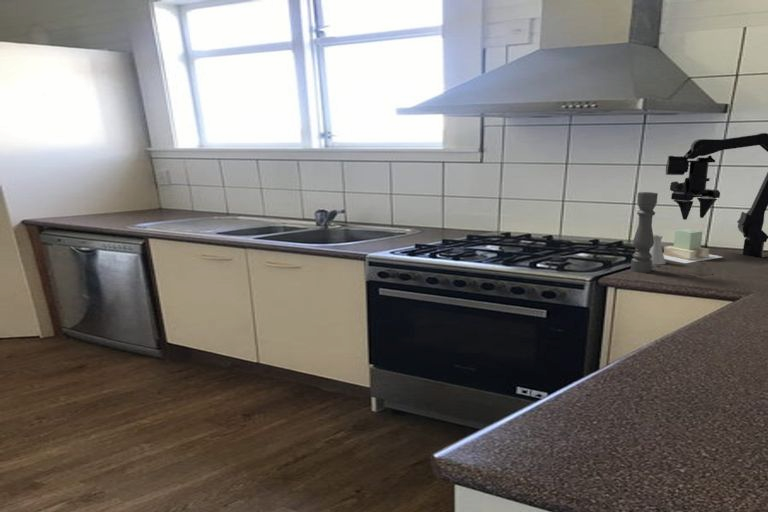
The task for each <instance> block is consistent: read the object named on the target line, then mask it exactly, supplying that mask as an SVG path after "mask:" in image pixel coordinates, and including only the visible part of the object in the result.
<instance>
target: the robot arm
mask: <svg viewBox="0 0 768 512" xmlns="http://www.w3.org/2000/svg"><path fill="white" fill-rule="evenodd" d="M754 146H755V147H756V146H760V148H762V149H763V150H765V151H766V152H767V153H768V133H767V132H760V133H756V134H752V135H751V134H750V135H743V136H737V137H729V138H723V139H722V138H721V139H718V138H717V139H715V138H714V139H709V138H705V139H704V138H698V139H696V140H694V141H693V142H692V143H691V145H690V149H689V150H688V151H687V152H686V153H685V155H683V156H680V155H678V156H675V155H668V156H667V161H666V164H665V175H667V176H684V175H685V173H688V177H685V179H684V182H678V181H671V183H670V186H669V187H670V188H669V191H671V192H672V193H671V197H670V199H671V200H673V202H675V203H676V204H677V205H678V207H679V209H680V213H681V217H682V220H685V221H686V220H687V219H688V218H689V214H690V212H691V209H692V207H693V203H694V200H693V199H694V198H697V200H698V202H699V218H701V219H704V217H705V216H706V214H707V213H708V212H709V210H710V209H711V207H712V206H713V204H714V203H715V202H716V201H718V199H720V197H721V192H720V191H719V189H710V188H707V182H710V179H711V178H709V177H708V170H709V163H715V162H716V160H715V159H714V158H713V156H712V155H711V154H715V153H718V152H721V151H724V150H732V149H733V150H734V149H740V148H741V149H742V148H748V147H749V148H750V147H754ZM705 156H706V157H705ZM767 209H768V172H766V175H765V177H764V179H763V181H762V183H761V186H760V188H759V190H758V192H757V195H756V196H755V198H754V201H753V203H752V205H751V207H750V208H749V210H748V211H747V212H744V211H742V212H741V213H740V217H739V219H738V220H737V221H736V222H737V228H738V231H739V232H741V234H742V235H743V237H744V242H743V248H742V254H741V255H743V256H748V257H756V258H761V259H763V258H767V257H768V255H764V249H765V248H764V247H765V243H767V241H768V234H766V232H765V231H764V230H763V227H764V222H765V213H766V211H767Z"/></svg>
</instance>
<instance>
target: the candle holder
mask: <svg viewBox="0 0 768 512" xmlns="http://www.w3.org/2000/svg"><path fill="white" fill-rule="evenodd" d="M658 195H659V194H658V192H652V191H651V192H650V191H647V192H646V191H644V192H643V191H641V192H638V193H637V201H636V202H637V206H638V208H639V210H638V211H637V212H636V214H637V215H638V226H637V228H636V232H635V235H634V237H633V241H632V243H633V246H634V247H635V248H634V249H635V251H634V253H632V257H633V258H631V260H630V261H631V263H630V271H632V272H636V273H651V272H652V268H653V266H652V260H651V258H652V255H651V254H650V252H649V251H650V249H651V248H652V246H653V245H654V238H653V235H654V233H653V227H652V224H653V217H654V216H655V215H656V211H654V209H655V207H656V205H657V204H658Z"/></svg>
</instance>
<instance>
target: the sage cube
mask: <svg viewBox="0 0 768 512" xmlns="http://www.w3.org/2000/svg"><path fill="white" fill-rule="evenodd" d="M702 240H703V231H701V230H695V229H688V228H685V229H677V230H675V231H674V239H673V246H674V247H675V248H680V249H685V250H694V249H701V247H702Z"/></svg>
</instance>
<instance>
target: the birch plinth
mask: <svg viewBox="0 0 768 512" xmlns="http://www.w3.org/2000/svg"><path fill="white" fill-rule="evenodd" d="M710 250H711V249H710V248H707V247H702V246H701V249H694V250H685V249H680V248H675V247H674V245H667V246H666V245H665V246H664V247H663V253H664V255H666V256H671V257H675V258H680V259H685V260H696V259H702V258H708V257H709V254H710Z"/></svg>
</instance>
